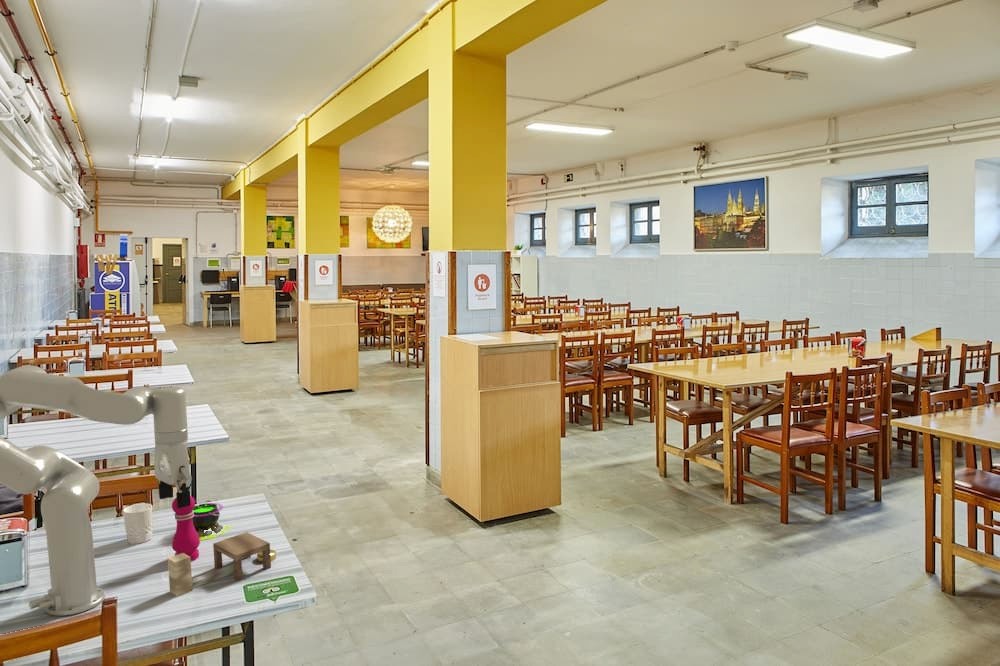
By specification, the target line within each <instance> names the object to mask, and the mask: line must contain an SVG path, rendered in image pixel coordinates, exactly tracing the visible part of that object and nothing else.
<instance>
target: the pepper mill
mask: <svg viewBox="0 0 1000 666" xmlns="http://www.w3.org/2000/svg"><path fill="white" fill-rule="evenodd" d="M195 500H196V499H195V498H194V497H193V496H191V495H190V501H191V504H190V506H186V507H183V508H177V498H176V497H175V498H174V499H173V501H172V503H171V508H172V511H173V512H174V519H175V520H176V528H175V533H174V535H173V538H172V542H171V548H172V550H173V551H174V552H175V553H174V556H175V555H178V554H181V553H184V554H186V555H188V556H190V558H191V562H192V561H196V560H197V559H198V558H199V556H200V551H199V549H198V548H199V546H200V544H201V540H200V539H199V536H198V534H197V532H196V530H195V528H194V526H193V516H194V514H193V513H194V511H193V509H194V507H195V506H196V501H195Z"/></svg>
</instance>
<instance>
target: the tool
mask: <svg viewBox="0 0 1000 666" xmlns="http://www.w3.org/2000/svg"><path fill="white" fill-rule="evenodd" d="M191 562H192V561H191V558H190V556H188V555H186V554H184V553H181V554H178V555H175V554H174V555H172V556H170V557H167V569H168V583H169V592H171V593H172V594H173V595H175V596H176V597H178V596H181V595H184V594H186V593H189V592H192V591H193V589H195V587H196V588H198V587H197V586H199V587H201V586H203V585H202V584H204V583H206V584H208V583H207V582H209V583H211V582H210V581H212V582H215V581H216V580H219V579H221V578H224V577H227V576H230V575H232V574H233V575H234V565H233V563H232V564H228V565H226V566H223V567H222V568H219V569H215V570H212V571H210V572H207V573H205V574H202V575H199V576H197V577H194V578H192V577H193V576H192V563H191ZM200 585H201V586H200ZM204 585H205V584H204Z"/></svg>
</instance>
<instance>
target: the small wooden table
mask: <svg viewBox="0 0 1000 666" xmlns="http://www.w3.org/2000/svg"><path fill="white" fill-rule="evenodd" d="M212 546H213V562H214V563H213V564H214V569H215V570H218V569H220V568H223V567H224V566H223V555H225V556H227V558H229V559H232V561H233V563H232V564H233V565H234V573H233V579H234V580H235V581H239V580H242V579H243V567H242V565H243V564H242V563H243V562H242V559H245V560H246V559H249V558H251V556H253V555H256V554H258V553H259V552H262V557H263V563H262V567H263V568H262V569H265V570H268V569H271V567H272V566H271V565H272V563H271V562H272V561H271V559H270V550H271V543H270V542H268V541H267V540H264V539H262V538H260V537H257V536H255V535H254V534H252V533H250V532H247V531H246V532H243V533H239V534H238V535H234V536H231V537H229V538H225V539H223V540H220V541H217V542H213V545H212Z"/></svg>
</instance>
